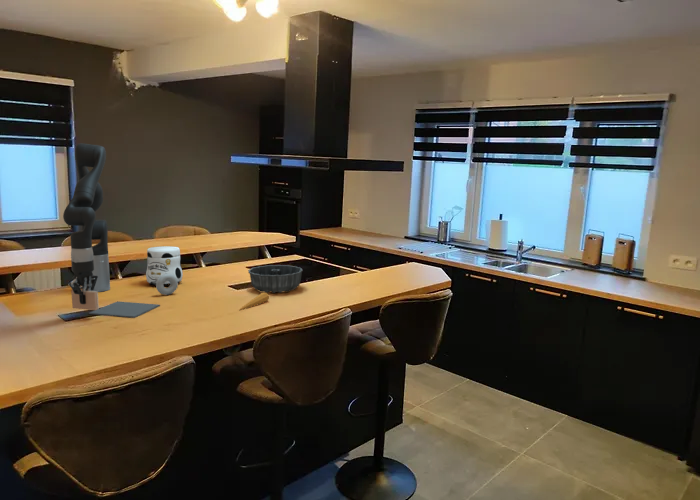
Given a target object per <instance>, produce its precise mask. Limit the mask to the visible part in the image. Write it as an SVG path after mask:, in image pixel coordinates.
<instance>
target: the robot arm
mask: <svg viewBox="0 0 700 500" xmlns="http://www.w3.org/2000/svg"><path fill="white" fill-rule="evenodd" d="M106 160H107V151H106V148H105V147H104V146H102V145H98V144H89V143H77V145H75V149H74V161H75V165H76V171H77V178H78V181H77V183H76V185H75V188H74V191H73V196H72V198H71V200H70V201H69V202H68V204H67V206H66V207H65V209H64V211H63V215H62V216H63V217H62V219H63V222H64V223H65V224H67V225H68V226H71V227H73V226H74V227H75V226H78V227H79V226H80V230H78V231H74V232H72V233H71V234H70V248H71V249H70V259H71V261H70V262H71V271H72V273H73V281H69V282H68V285H69V287H70V288H71V291H72V290H73V292H74V293H75V294H79V299H80V304H86V295H85V294H86V291H98V293H100V292H106V291H109V290H111V280H110V279H111V278H110V276H111V275H110V264H109V263H110V259H109V244H108V243H109V241H108V238H109V236H108V234H109V233H108V230H109V229H108V223H107V220H106V219H96V215H97V213H96V212H97V211H98V210H99V209H100V207H101V206H102V205H103V202H104V191H103V187H102V185H101V183H100V182H99V180H100V178H101V175H102V173H103V170H104V167H105V164H106ZM88 168H91V170H89V169H88ZM93 240H94V241H95V240H96V241H97V240H99V242H98V243H97V244H94V245H93ZM81 290H82V291H81Z"/></svg>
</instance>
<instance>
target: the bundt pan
mask: <svg viewBox="0 0 700 500" xmlns="http://www.w3.org/2000/svg"><path fill="white" fill-rule="evenodd" d="M247 271H248V274H249V278H250V283H251V286H252V287H253V288H254V289H255V290H257V291H258V292H259V293H267V294H268V293H272V294H275V293H289V292H290V291H293V290H296V289H298V287H299V286H300V284H301V281H302V280H301V279H302V273H303V268H301V267H300V266H299V267H298V266H296V265H295V266H293V265H289V264H287V265H285V264H284V265H283V264H282V265H281V264H275V265H274V264H269V265H263V266H262V265H260V266H256V267H251V268H250V269H248V270H247Z"/></svg>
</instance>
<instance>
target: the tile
mask: <svg viewBox="0 0 700 500" xmlns="http://www.w3.org/2000/svg"><path fill="white" fill-rule="evenodd" d="M81 291H82V289H81ZM85 295H86V304H80V299H79V294H75V293H74V292H73V290H72V289H71V303H72V304H71V305H72V306H71V307H72V309H79V310H80V309H81V310H89V311H90V310H91V311H95V310H97V309H100V307H99V292H98V291H86V294H85Z"/></svg>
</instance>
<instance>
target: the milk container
mask: <svg viewBox="0 0 700 500" xmlns="http://www.w3.org/2000/svg"><path fill="white" fill-rule="evenodd" d="M146 251H147V252H146V256H147V257H146V260H147V267H146V271H145V272H146V273H145V278H146V282H147V283H148V284H149V285H153V286H156V282H157V280H158V278H159V277H160V276H162V275H163V274H172V275H174V276H175V277H176V278H177V281H178V284H179V283H180V282H182V281H183V276H184V275H183V270H182V269H183V268H182V265H181V250H180V247H178V246H171V245H170V246H168V245H167V246H164V245H163V246H151V247H149V248H147V250H146ZM164 286H170V282H169V281H166V282H165V283H164Z"/></svg>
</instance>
